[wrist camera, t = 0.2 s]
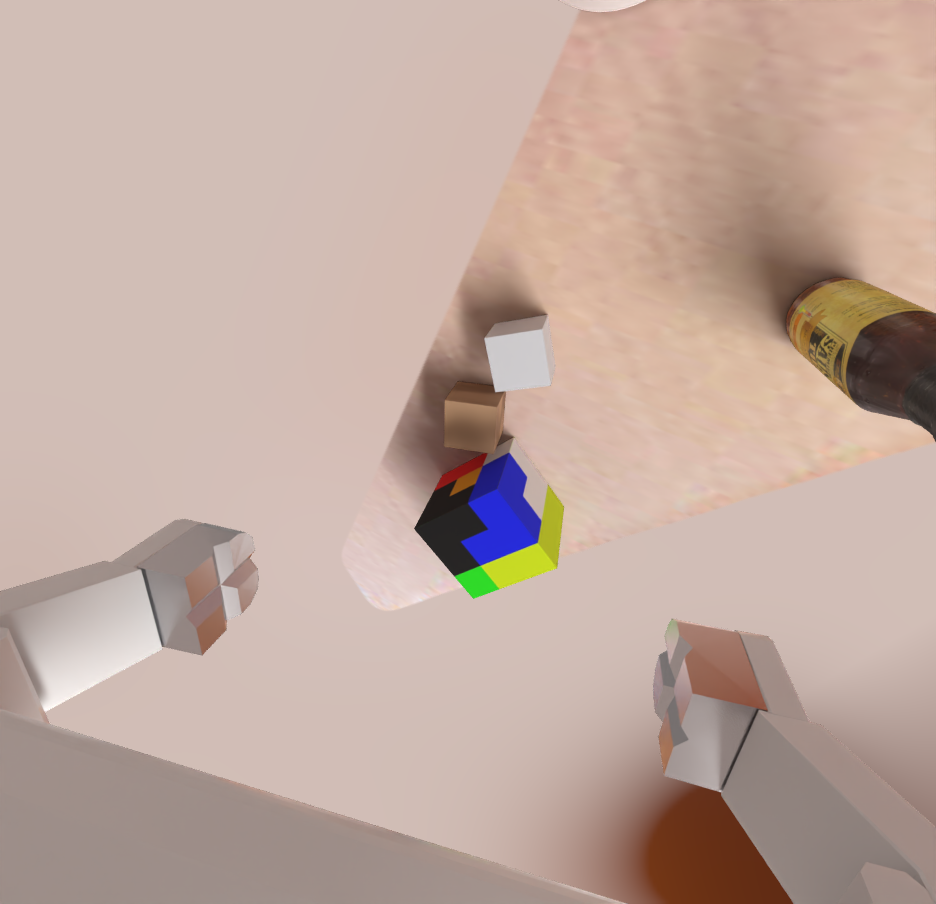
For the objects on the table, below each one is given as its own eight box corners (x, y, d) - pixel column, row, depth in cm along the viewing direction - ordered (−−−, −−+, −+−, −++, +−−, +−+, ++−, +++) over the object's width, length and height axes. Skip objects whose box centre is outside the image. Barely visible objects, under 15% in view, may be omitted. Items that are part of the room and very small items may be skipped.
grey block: (495, 323, 46) (484, 338, 42) (548, 314, 44) (542, 329, 40) (504, 373, 48) (495, 392, 44) (555, 366, 46) (550, 385, 42)
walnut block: (458, 381, 50) (444, 400, 45) (506, 387, 49) (497, 407, 44) (456, 424, 52) (444, 446, 48) (502, 431, 51) (493, 454, 47)
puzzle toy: (514, 436, 51) (496, 488, 43) (564, 506, 54) (557, 568, 46) (442, 475, 56) (414, 528, 47) (491, 537, 59) (473, 598, 50)
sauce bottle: (766, 310, 40) (885, 409, 23) (849, 257, 37) (1056, 325, 20) (807, 370, 41) (947, 503, 25) (890, 323, 38) (1115, 438, 22)
